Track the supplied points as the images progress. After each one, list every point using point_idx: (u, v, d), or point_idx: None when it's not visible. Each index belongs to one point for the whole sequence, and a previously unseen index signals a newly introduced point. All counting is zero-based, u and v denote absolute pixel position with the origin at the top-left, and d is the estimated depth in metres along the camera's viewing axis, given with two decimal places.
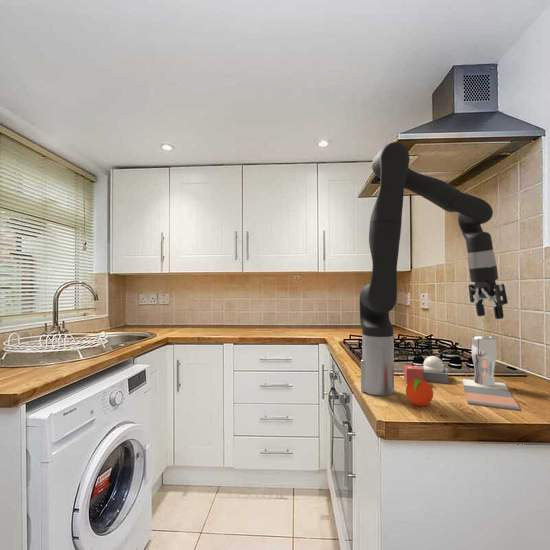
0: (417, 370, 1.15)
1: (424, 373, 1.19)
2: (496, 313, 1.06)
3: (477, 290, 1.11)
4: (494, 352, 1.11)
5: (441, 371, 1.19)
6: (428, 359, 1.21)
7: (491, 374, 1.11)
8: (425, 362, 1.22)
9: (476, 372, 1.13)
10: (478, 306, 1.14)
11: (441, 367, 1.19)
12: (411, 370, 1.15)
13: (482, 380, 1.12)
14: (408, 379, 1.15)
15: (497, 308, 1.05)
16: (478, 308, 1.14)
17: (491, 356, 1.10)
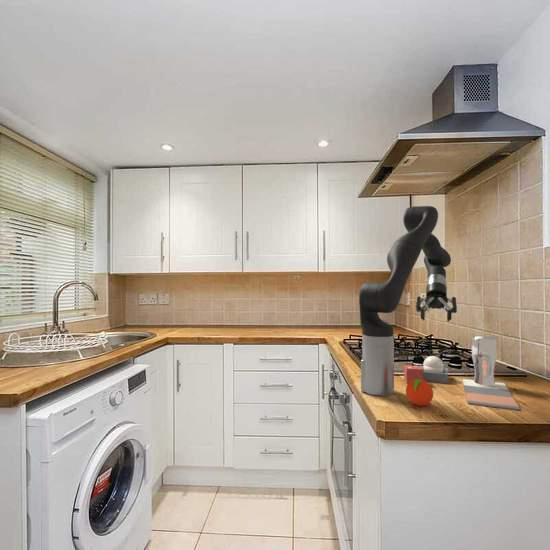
0: (417, 370, 1.15)
1: (424, 373, 1.19)
2: (449, 314, 1.31)
3: (432, 298, 1.37)
4: (494, 352, 1.11)
5: (441, 371, 1.19)
6: (428, 359, 1.21)
7: (491, 374, 1.11)
8: (425, 362, 1.22)
9: (476, 372, 1.13)
10: (424, 311, 1.36)
11: (441, 367, 1.19)
12: (411, 370, 1.15)
13: (482, 380, 1.12)
14: (408, 379, 1.15)
15: (450, 312, 1.32)
16: (424, 312, 1.35)
17: (491, 356, 1.10)
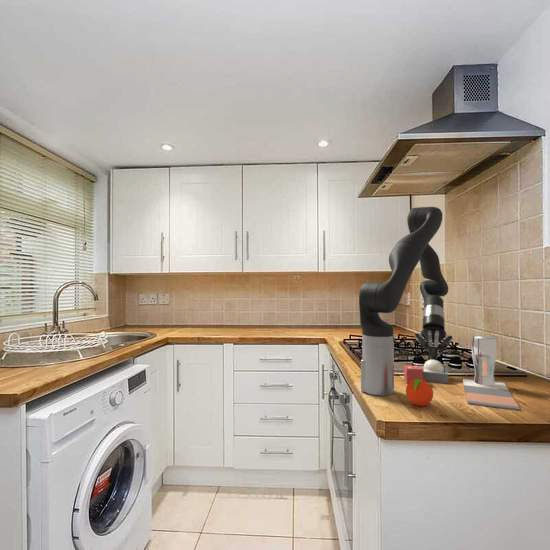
0: (417, 370, 1.15)
1: (424, 373, 1.19)
2: (435, 352, 1.23)
3: (430, 331, 1.28)
4: (494, 352, 1.11)
5: None
6: (428, 362, 1.21)
7: (491, 374, 1.11)
8: (425, 365, 1.22)
9: (476, 372, 1.13)
10: None
11: (441, 370, 1.19)
12: (411, 370, 1.15)
13: (482, 380, 1.12)
14: (408, 379, 1.15)
15: (436, 349, 1.24)
16: None
17: (491, 356, 1.10)
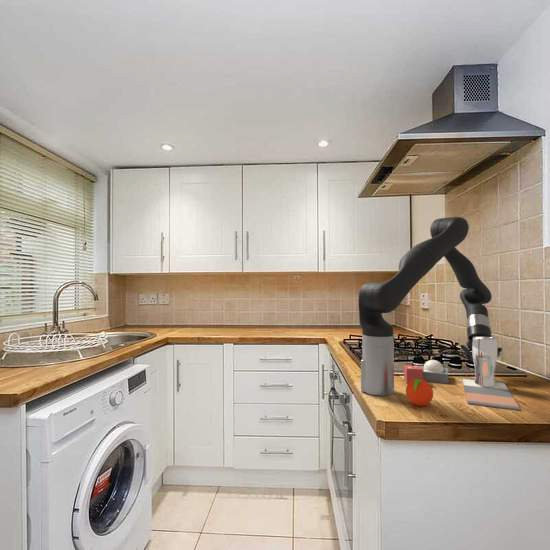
0: (417, 370, 1.15)
1: (424, 373, 1.19)
2: None
3: None
4: (495, 353, 1.10)
5: None
6: (428, 363, 1.21)
7: (492, 375, 1.10)
8: (425, 366, 1.22)
9: (477, 373, 1.12)
10: None
11: (441, 371, 1.19)
12: (411, 370, 1.15)
13: (483, 381, 1.11)
14: (408, 379, 1.15)
15: None
16: None
17: (492, 357, 1.09)
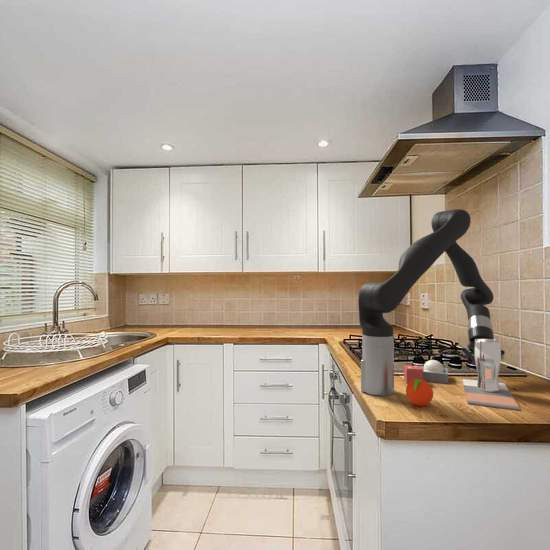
0: (417, 370, 1.15)
1: (424, 373, 1.19)
2: None
3: None
4: (499, 355, 1.05)
5: None
6: (428, 363, 1.21)
7: (496, 378, 1.06)
8: (425, 366, 1.22)
9: (480, 377, 1.07)
10: None
11: (441, 371, 1.19)
12: (411, 370, 1.15)
13: (488, 386, 1.05)
14: (408, 379, 1.15)
15: None
16: None
17: (497, 360, 1.05)
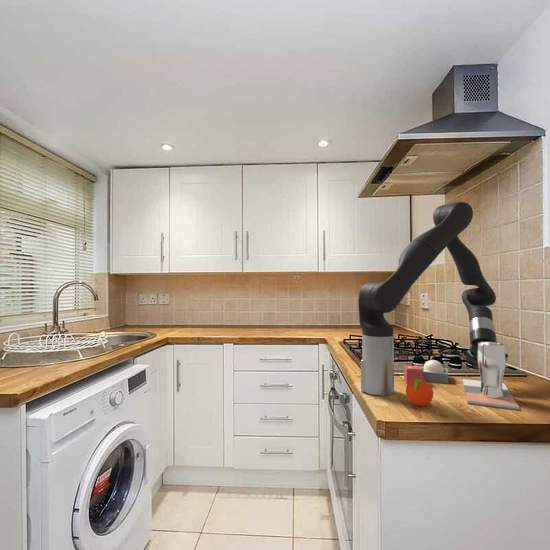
0: (417, 370, 1.15)
1: (424, 373, 1.19)
2: None
3: None
4: (504, 360, 1.00)
5: None
6: (428, 363, 1.21)
7: (501, 384, 1.00)
8: (425, 366, 1.22)
9: (484, 382, 1.02)
10: None
11: (441, 371, 1.19)
12: (411, 370, 1.15)
13: (491, 391, 1.00)
14: (408, 379, 1.15)
15: None
16: None
17: (501, 364, 0.99)
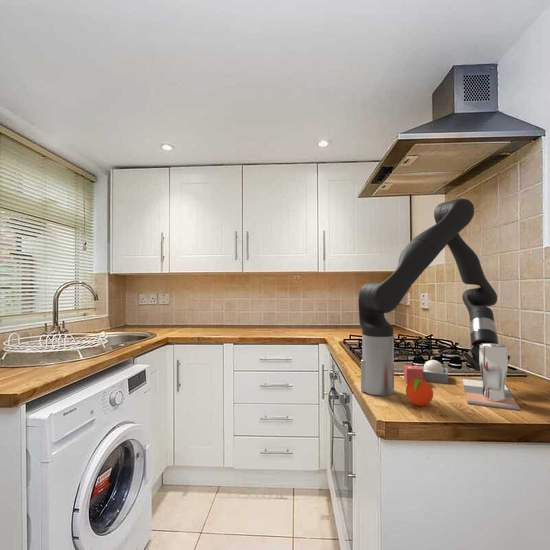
0: (417, 370, 1.15)
1: (424, 373, 1.19)
2: None
3: None
4: (506, 362, 0.97)
5: None
6: (428, 363, 1.21)
7: (503, 387, 0.98)
8: (425, 366, 1.22)
9: (486, 385, 0.99)
10: None
11: (441, 371, 1.19)
12: (411, 370, 1.15)
13: (494, 394, 0.97)
14: (408, 379, 1.15)
15: None
16: None
17: (504, 366, 0.97)
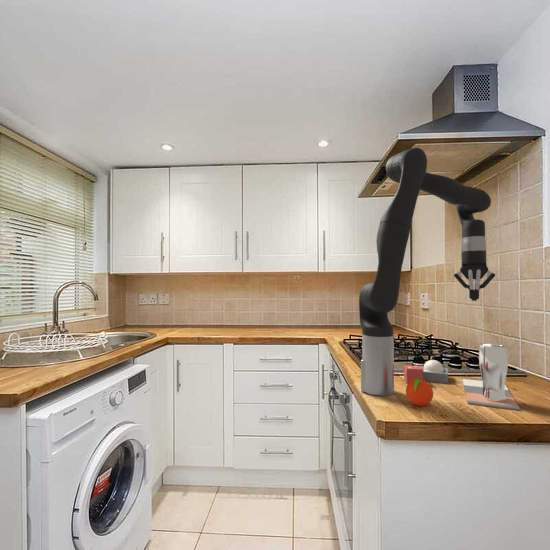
0: (417, 370, 1.15)
1: (424, 373, 1.19)
2: (476, 295, 1.20)
3: (470, 271, 1.20)
4: (507, 362, 0.97)
5: None
6: (428, 363, 1.21)
7: (503, 387, 0.98)
8: (425, 366, 1.22)
9: (486, 385, 0.99)
10: None
11: (441, 371, 1.19)
12: (411, 370, 1.15)
13: (494, 394, 0.97)
14: (408, 379, 1.15)
15: (478, 291, 1.20)
16: None
17: (504, 366, 0.97)
